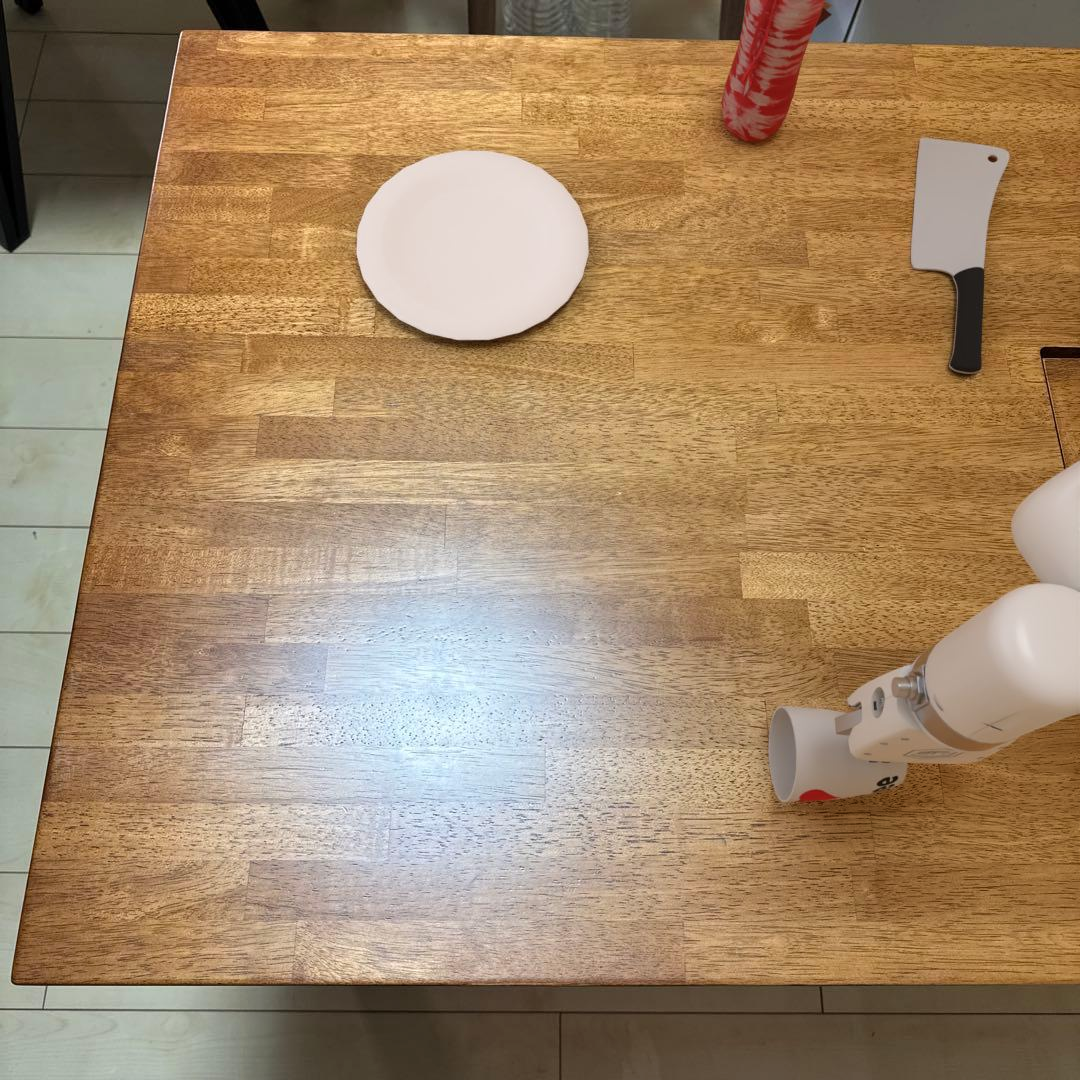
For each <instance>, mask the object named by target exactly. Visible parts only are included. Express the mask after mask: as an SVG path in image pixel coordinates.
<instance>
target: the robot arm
mask: <svg viewBox="0 0 1080 1080" xmlns="http://www.w3.org/2000/svg"><path fill="white" fill-rule="evenodd" d="M1010 523H1011V524H1010V530H1011V537H1012V540H1013V542H1014V545H1015V547H1016V549H1017V551H1018V552H1019V554H1020V555H1021V557H1022V558H1023V560H1024V561H1025V562H1026V564H1027V566H1028V567H1029V569H1031V571H1032V572H1033V575H1035V577H1036V578H1037V579H1038V581H1039V583H1038V582H1037V583H1031V584H1025V585H1022V586H1018V587H1016V588H1014V589H1012V590H1010V591H1009V592H1008V591H1007V593H1005V594H1002V596H1000V597H999V598H997V599H996V600H994V601H993V602H991V603H990V604H989V605H988V606H987V605H986V607H985V608H983V609H982V610H981V611H979V612H977V613H976V614H975V615H973V616H972V617H970V618H969V619H968V620H966V621H965V622H964V623H962V624H961V625H959V626H958V627H956V628H955V629H953V630H952V631H951V632H949V633H948V634H946V635H945V636H943V637H942V638H941V639H940V640H938V641H937V642H935V643H934V644H932V645H931V646H929V648H927V649H925V650H923V652H922V653H920V654H919V655H918V656H917V658H915V660H914V661H913V662H912V663H910V664H906V665H903V666H901V667H898V668H895V669H893V670H891V671H888V672H886V673H884V674H882V675H879V676H878V677H875V678H873V679H871V680H869V681H868V682H866V683H864V684H862V685H861V686H860V687H858V688H857V689H856V690H854V691H853V692H852V693H851V694H850V695H849V696H848V698H847V699H846V700H845V704H846V705H848V707H849V708H858V709H855V710H852V711H850V712H846V713H847V714H844V715H841V716H839V717H836V718H835V728H836V734H838V735H848V736H849V739H848V743H849V749H850V753H851V754H852V755H853V756H854V757H856V758H857V759H860V760H866V761H869V762H878V761H881V762H882V763H890V762H905V763H908V764H909V763H910V764H939V765H940V764H945V765H946V764H947V765H948V764H949V765H952V764H953V765H961V764H962V765H963V764H974V763H977V762H980V761H981V760H984V759H986V758H988V757H991V756H992V755H995V754H996V753H998V752H1000V751H1001V750H1003V749H1005V748H1007V747H1008V746H1010V745H1012V744H1013V743H1014V742H1016V741H1017V739H1018V738H1021V737H1022V736H1025V735H1027V734H1030V733H1032V732H1034V731H1037V730H1040V729H1042V728H1045V727H1047V726H1049V725H1052V724H1054V723H1056V722H1060V721H1061V720H1063V719H1067V718H1069V717H1073V716H1076V715H1080V459H1079V460H1077V461H1076V462H1074V463H1073V464H1071V465H1069V466H1068V467H1066V468H1065V469H1063V470H1061V471H1059V472H1058V473H1057V474H1055V475H1054V476H1052V477H1050V478H1049V479H1048V480H1046V481H1045V482H1044V483H1042V484H1041V485H1040V486H1038V487H1037V488H1036V489H1034V490H1033V491H1032V492H1031V493H1029V494H1028V495H1027V496H1026V497H1025V498H1024V499H1023V500H1022V501H1021V502H1020V504H1019V505H1018V506H1017V508H1016V510H1015V511H1014V513H1013V515H1012V518H1011V522H1010Z"/></svg>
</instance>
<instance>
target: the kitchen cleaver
mask: <svg viewBox="0 0 1080 1080" xmlns="http://www.w3.org/2000/svg"><path fill="white" fill-rule="evenodd" d="M990 157H993V158H995V159H996V161H995V162H994V161H993V162H992V161H990V160H989V158H990ZM1010 157H1011V155H1010V152H1009V151H1008V150H1007V149H1005V148H1002V147H997V146H993V145H986V144H982V143H981V144H980V143H972V142H967V141H966V142H965V141H957V140H956V141H955V140H948V139H947V140H946V139H945V140H944V139H938V138H931V137H920V139H919V141H918V150H917V157H916V158H917V159H916V169H915V170H916V171H915V187H914V197H913V199H914V200H913V216H912V226H911V241H910V264H911V268H913V269H914V270H917V271H934V272H935V271H937V272H942V273H946V274H949V275H950V276H951V277H952V281H953V283H954V285H955V288H956V314H955V327H954V328H955V329H954V339H953V350H952V355H951V357H950V360H949V364H948V368H949V370H950V371H951V372H952V373H953V374H955V375H957V376H960V377H961V376H962V377H968V376H972V375H976V374H978V373H980V372H981V371H982V367H983V363H982V362H983V360H982V350H983V349H982V346H983V319H984V316H983V315H984V298H985V297H984V296H985V260H986V248H987V237H988V227H989V219H990V215H991V210H992V207H993V203H994V199H995V195H996V192H997V190H998V186H999V183H1000V182H1001V180H1002V176H1003V174H1004V172H1005V171H1006V168H1007V166H1008V164H1009V161H1010Z"/></svg>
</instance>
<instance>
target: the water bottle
mask: <svg viewBox="0 0 1080 1080" xmlns="http://www.w3.org/2000/svg"><path fill="white" fill-rule="evenodd" d="M832 6H833V4H831V3H829V2H826V0H746V2H745V6H744V14H743V22H742V27H741V28H742V29H741V32H740V37H739V41H738V45H737V48H736V52H735V55H734V58H733V61H732V63H731V67H730V69H729V72H728V74H727V78H726V81H725V84H724V88H723V92H722V97H721V101H720V104H721V106H720V107H721V110H722V116H723V121H724V127H725V128H726V130H727V131H728V132H730V134H731V135H732V136H733V137H734V138H736V139H739V140H741V141H743V142H747V143H751V142H752V143H754V142H762V141H763V140H766V139H767V138H769V137H771V136H773V135H774V134H775V133H776V132H777V131H778V130H779V129H780V128H781V127H782V125H783V124H784V121H785V120H786V117H787V115H788V112H789V110H790V107H791V105H792V101H793V98H794V95H795V91H796V89H797V88H796V87H797V84H798V80H799V75H800V72H801V71H800V70H801V67H802V62H803V59H804V57H805V54H806V51H807V48H808V44H809V42H810V39H811V38H812V35H813V33H814V31H815V29H816V28H817V27H818V26H819V25H821V24H822V23H823V22H825V21H826V20H827V19H829V18H830V17H832V13H830V11H828V10H829V9H830V8H831V7H832Z"/></svg>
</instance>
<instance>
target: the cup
mask: <svg viewBox="0 0 1080 1080" xmlns="http://www.w3.org/2000/svg"><path fill="white" fill-rule="evenodd" d="M847 713H848V712H845V711H841V710H840V711H839V710H834V709H829V708H817V707H804V706H791V705H779V706H777V707H776V709H774V712H773V714H772V717H771V720H770V724H769V731H768V748H767V750H768V751H767V752H768V767H769V773H770V779H771V783H772V787H773V790H774V793H775V796H776V797H777V799H778V800H779V801H780V802H782V803H801V802H802V803H803V802H820V801H821V802H823V801H834V800H835V801H836V800H841V799H847V798H853V797H860V796H861V797H862V796H865V795H866V796H867V795H872V794H875V793H878V792H882V791H885V790H887V789H891V788H895V787H897V786H900V785H902V784H903V783H904V781H905V779H906V776H907V771H908V765H909V763H905V762H890V763H882V762H881V761H878V762H869V761H866V760H860V759H857V758H856V757H854V756H853V755H852V754H851V753H850V749H849V743H848V739H849V736H848V735H838V734H836V728H835V718H836V717H839V716H841V715H844V714H847Z"/></svg>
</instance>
